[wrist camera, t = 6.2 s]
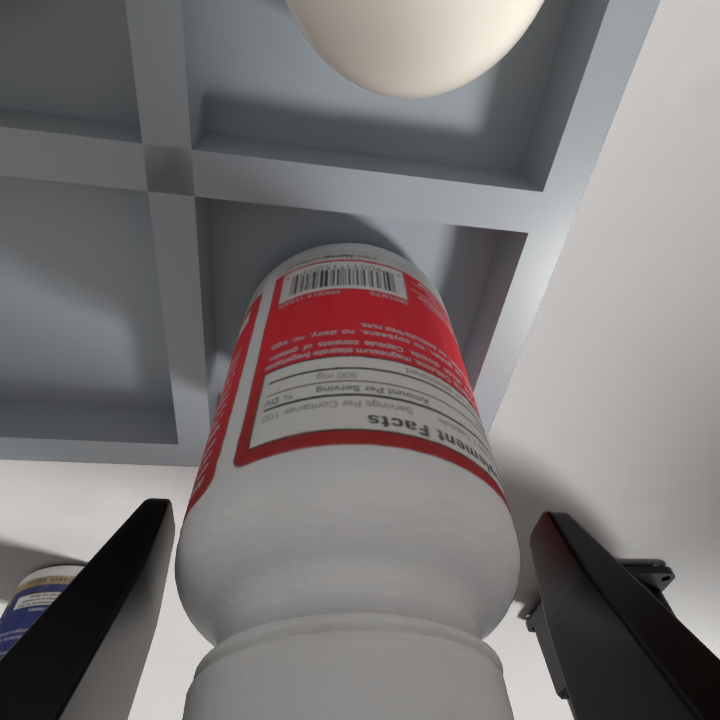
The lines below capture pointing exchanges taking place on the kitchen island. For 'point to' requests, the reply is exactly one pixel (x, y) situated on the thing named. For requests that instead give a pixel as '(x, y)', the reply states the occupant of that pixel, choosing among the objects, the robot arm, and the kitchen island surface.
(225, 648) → the pill bottle
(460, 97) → the carton tray
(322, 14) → the egg
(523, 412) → the kitchen island surface
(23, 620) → the pill bottle
